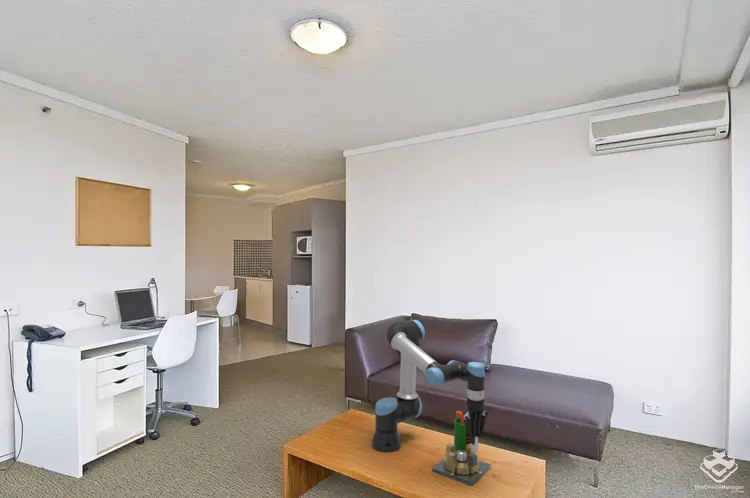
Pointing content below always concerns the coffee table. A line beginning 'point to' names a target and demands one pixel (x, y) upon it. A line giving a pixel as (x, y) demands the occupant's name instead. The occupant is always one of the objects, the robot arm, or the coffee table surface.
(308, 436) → the coffee table surface
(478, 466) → the ring nut
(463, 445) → the motor
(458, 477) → the flange plate
